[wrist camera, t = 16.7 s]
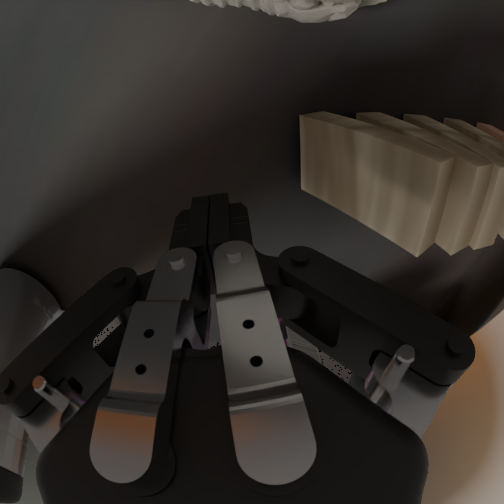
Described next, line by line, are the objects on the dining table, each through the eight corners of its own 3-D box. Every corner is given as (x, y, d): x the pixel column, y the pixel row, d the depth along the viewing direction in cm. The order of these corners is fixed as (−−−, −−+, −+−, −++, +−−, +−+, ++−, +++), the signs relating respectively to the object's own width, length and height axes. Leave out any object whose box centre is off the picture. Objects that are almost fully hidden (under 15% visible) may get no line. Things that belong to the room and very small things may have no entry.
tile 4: (435, 175, 20) (506, 242, 13) (443, 117, 17) (530, 169, 10) (451, 175, 20) (521, 238, 13) (461, 120, 17) (544, 171, 10)
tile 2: (352, 182, 19) (450, 255, 13) (356, 112, 16) (477, 167, 10) (373, 177, 20) (469, 245, 13) (378, 111, 17) (493, 163, 10)
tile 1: (301, 188, 19) (417, 257, 13) (299, 115, 16) (440, 162, 10) (322, 180, 20) (434, 242, 14) (323, 111, 17) (456, 155, 11)
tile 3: (396, 177, 20) (473, 249, 13) (403, 113, 17) (499, 167, 10) (416, 175, 20) (493, 244, 13) (424, 115, 17) (518, 168, 10)
